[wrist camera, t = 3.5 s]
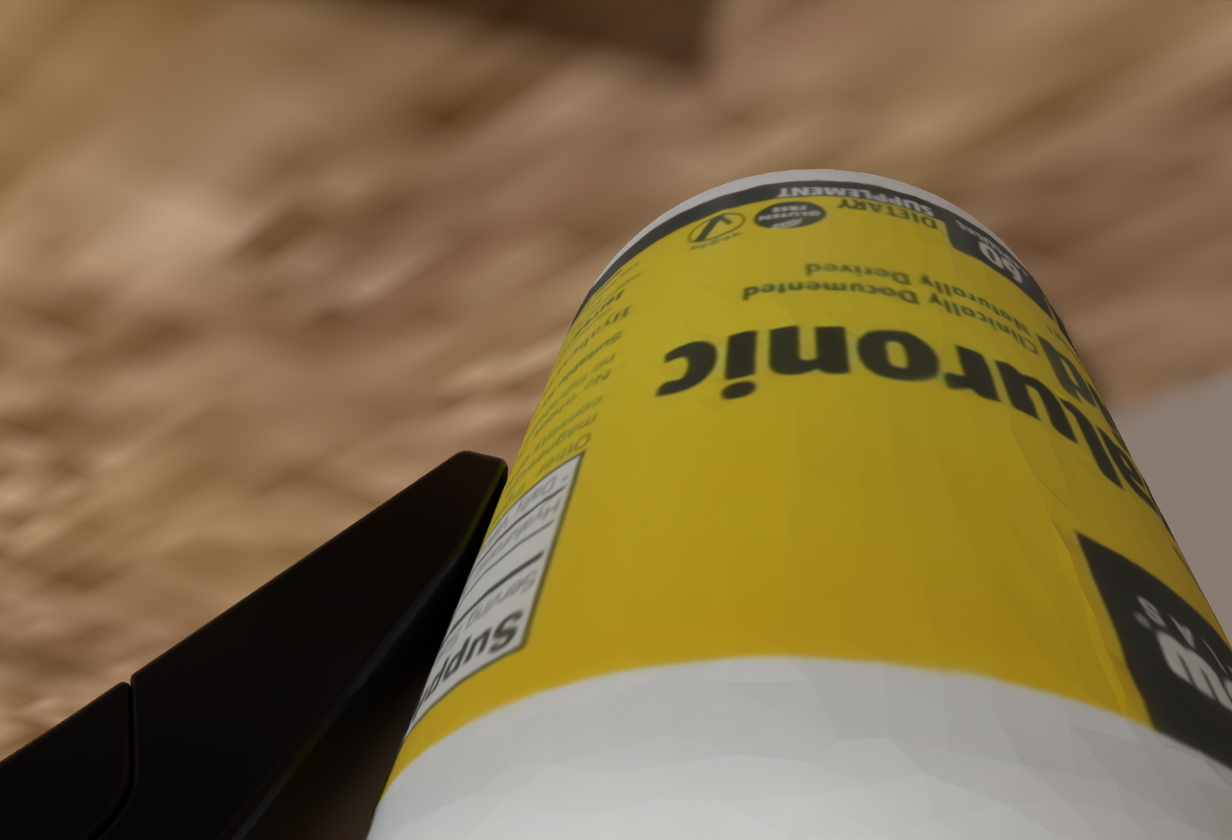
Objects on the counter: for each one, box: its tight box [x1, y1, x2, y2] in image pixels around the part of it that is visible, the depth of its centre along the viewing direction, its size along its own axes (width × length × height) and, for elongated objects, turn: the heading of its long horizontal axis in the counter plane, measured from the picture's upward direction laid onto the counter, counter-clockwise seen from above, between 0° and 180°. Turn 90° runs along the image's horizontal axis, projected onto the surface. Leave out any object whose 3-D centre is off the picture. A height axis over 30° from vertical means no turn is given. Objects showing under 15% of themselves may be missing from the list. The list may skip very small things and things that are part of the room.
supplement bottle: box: [363, 169, 1232, 840], centre depth 6 cm, size 5×5×10 cm
